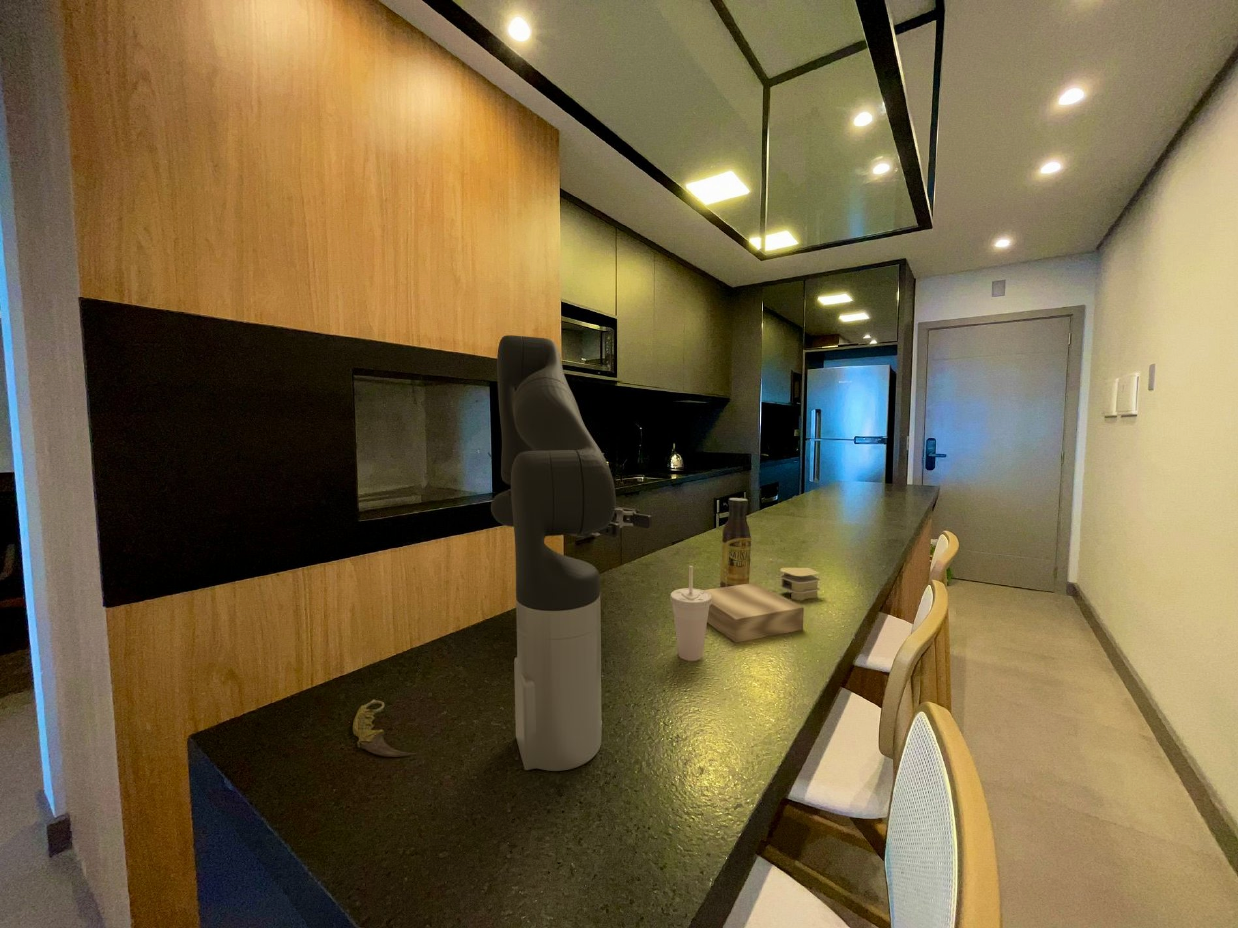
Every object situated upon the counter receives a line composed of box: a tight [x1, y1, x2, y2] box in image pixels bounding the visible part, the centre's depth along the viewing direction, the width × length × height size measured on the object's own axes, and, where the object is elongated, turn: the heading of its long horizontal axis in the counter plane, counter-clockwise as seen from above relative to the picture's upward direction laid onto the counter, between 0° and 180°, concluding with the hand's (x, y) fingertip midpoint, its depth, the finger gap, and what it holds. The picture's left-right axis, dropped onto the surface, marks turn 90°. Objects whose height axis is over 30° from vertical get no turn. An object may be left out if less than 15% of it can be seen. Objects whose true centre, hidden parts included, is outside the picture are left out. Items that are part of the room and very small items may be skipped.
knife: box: [352, 699, 420, 758], centre depth 57 cm, size 14×1×5 cm
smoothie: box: [669, 565, 712, 662], centre depth 75 cm, size 6×6×14 cm
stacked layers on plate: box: [779, 567, 821, 601], centre depth 101 cm, size 10×9×6 cm
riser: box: [704, 582, 805, 644], centre depth 88 cm, size 14×14×4 cm
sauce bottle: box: [719, 497, 752, 588], centre depth 104 cm, size 6×6×20 cm
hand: (635, 526), depth 81 cm, fingers open, 8 cm apart
